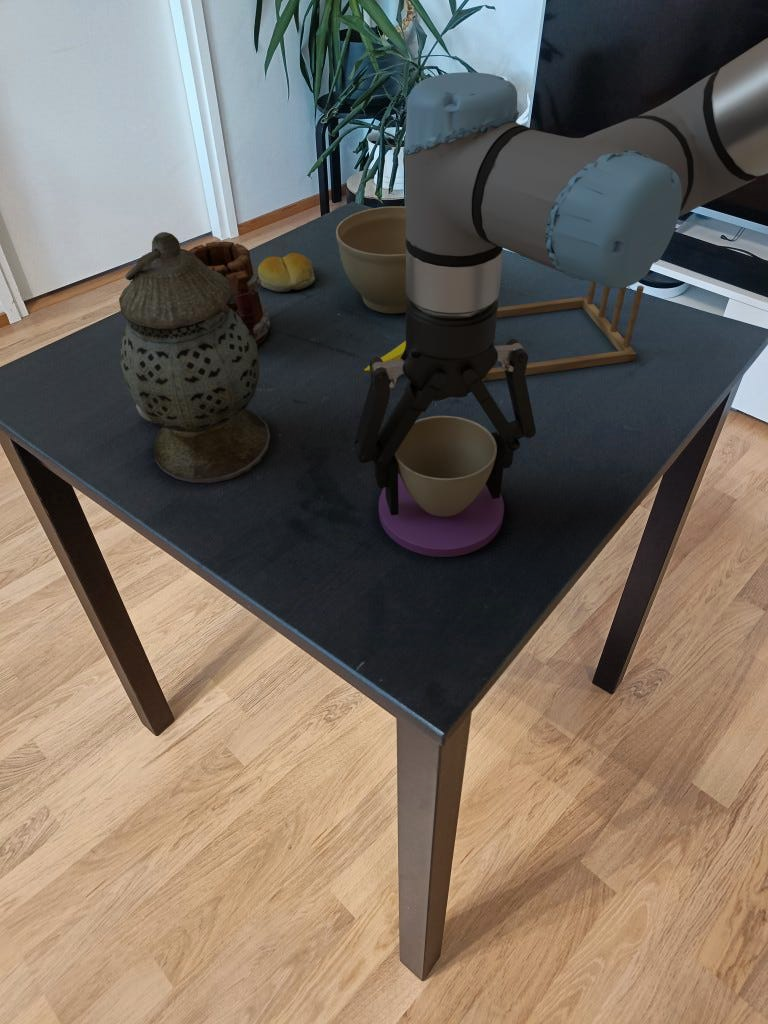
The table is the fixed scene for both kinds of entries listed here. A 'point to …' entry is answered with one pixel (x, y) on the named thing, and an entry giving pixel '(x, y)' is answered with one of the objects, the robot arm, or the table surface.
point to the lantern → (191, 366)
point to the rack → (597, 316)
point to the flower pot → (445, 463)
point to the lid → (442, 524)
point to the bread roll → (286, 272)
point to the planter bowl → (376, 256)
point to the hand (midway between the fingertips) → (442, 497)
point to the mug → (238, 283)
